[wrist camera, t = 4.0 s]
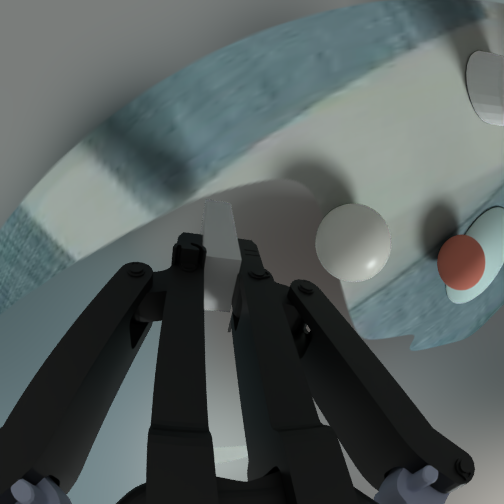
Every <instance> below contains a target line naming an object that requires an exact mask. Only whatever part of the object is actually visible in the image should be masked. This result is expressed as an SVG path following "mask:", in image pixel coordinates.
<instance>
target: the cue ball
mask: <svg viewBox="0 0 504 504" xmlns="http://www.w3.org/2000/svg"><path fill="white" fill-rule="evenodd" d="M391 243H392V242H391V234H390V231H389V228H388V225H387V224H386V222H385V220H384V219H383V218H382V216H381V215H380V214H379V213H377V212H376V211H375V210H373V209H372V208H370V207H368V206H365V205H362V204H354V203H352V204H345V205H341V206H339V207H337V208H335V209H333V210H332V211H330V212H329V213H328V214H327V215H326V216H325V217H324V218H323V220H322V222H321V223H320V225H319V227H318V230H317V234H316V251H317V255H318V258H319V260H320V262H321V264H322V265H323V267H324V268H325V269H326V270H327V271H328V272H329V273H330V274H331V275H333V276H335V277H336V278H338V279H340V280H343V281H348V282H359V281H364V280H367V279H369V278H371V277H373V276H375V275H376V274H377V273H378V272H379V271H380V270H381V269H382V268H383V267H384V266H385V264H386V262H387V260H388V258H389V255H390V252H391Z"/></svg>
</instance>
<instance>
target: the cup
mask: <svg viewBox="0 0 504 504" xmlns="http://www.w3.org/2000/svg"><path fill="white" fill-rule="evenodd" d="M466 76H467V87H468V93H469V96H470V99H471V103H472V105H473V107H474V109H475V111H476V113H477V114H478V116H479V117H480V118H481V119H482V120H483V121H484V122H486V123H489V124H494V125H501V126H504V56H501V55H497V54H494V53H489V52H484V51H476V52H474V53H473V54H472V55H471V56H470V58H469V61H468V63H467V71H466Z"/></svg>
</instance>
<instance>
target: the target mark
mask: <svg viewBox="0 0 504 504" xmlns="http://www.w3.org/2000/svg"><path fill="white" fill-rule="evenodd" d="M465 235H467V236H470V237H472V238H474V239H475V240H476V241H477V242H478V243H479V244H480V245H481V247H482V249H483V251H484V254H485V270H484V273H483V276H482V277H481V279H480V280H479V282H478V283H477V284H476V285H475V286H473V287H472V288H470V289H467V290H455V289H452V288H451V287H449V286H448V285H446V292H447V296H448V297H449V299H450V300H451V301H452V302H454V303H458V304H460V303H465V302H468V301H470V300H472V299H474V298H475V297H477V296H478V295H479V294H480V293H482V292H483V291H484V290H485V289H486V288H487V287H488V286H489V284H490V283H491V282H492V281H493V279H494V278H495V277H496V275H497V274H498V272H499V270H500V269H501V267H502V265H503V263H504V209H503V208H500V207H495V208H491V209H490V210H488V211H486V212H485V213H483V214H482V215H481V216H480V217H479V218H478V219H477V220H476V221H475V222H474V223H473V224H472V226H471V227H470V228H469V230H468V231H467V232H466V234H465Z"/></svg>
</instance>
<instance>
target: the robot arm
mask: <svg viewBox="0 0 504 504" xmlns="http://www.w3.org/2000/svg"><path fill="white" fill-rule="evenodd" d="M231 305H232V308H233V312H232V316H231V320H230V324H229V328H228V332H230V331H231V328H232V335H233V336H232V337H233V345H234V354H235V361H236V370H237V378H238V386H239V394H240V401H241V409H242V416H243V423H244V430H245V437H246V444H247V451H248V458H249V463H248V470H247V471H248V472H247V476H248V482H242V481H236V480H230V479H225V478H220V477H216V474H215V463H214V452H213V442H212V436H211V433H210V431H209V427H208V413H207V394H206V373H205V339H204V338H205V336H204V310H214V311H224V312H230V309H231ZM161 320H162V325H161V332H160V339H159V347H158V355H157V364H156V372H155V382H154V392H153V405H152V417H151V426H150V428H149V432H148V443H147V472H146V483H144V484H142V485H139V486H137V487H135V488H134V489H132V490H131V491H129V492H128V493H127V494H126V495H125V496H124V497H122V499H120V500H119V501H118V502H117V503H116V504H444V503H445V501H446V499H447V497H448V495H449V493H451V492H452V491H454V490H456V489H458V488H460V487H462V486H463V485H465V484H467V483H468V482H469V481H470V480H471V479H472V477H473V475H474V470H475V467H474V462H473V460H472V457H471V456H470V455H469V454H468V453H467V452H465V451H464V450H462V449H461V448H459V447H458V446H457V445H455V444H454V443H453V442H451V441H450V440H448V439H447V438H446V437H444V436H443V435H442V434H440V433H439V432H437V431H436V430H435V429H433V428H432V426H431V425H430V424H429V423H428V421H427V420H426V419H425V417H424V416H423V415H422V414H421V412H420V411H419V410H418V408H417V407H416V406H415V404H414V403H413V402H412V401H411V400H410V398H409V397H408V396H407V394H406V393H405V392H404V390H403V389H402V388H401V387H400V386H399V384H398V383H397V382H396V380H395V379H394V378H393V377H392V376H391V374H390V373H389V372H388V370H387V369H386V368H385V367H384V366H383V364H382V363H381V362H380V361H379V359H378V358H377V357H376V356H375V354H374V353H373V352H372V351H371V350H370V349H369V347H368V346H367V345H366V343H365V342H364V341H363V340H362V339H361V337H360V336H359V335H358V334H357V333H356V331H355V330H354V329H353V328H352V327H351V325H350V324H349V323H348V322H347V321H346V319H345V318H344V317H343V316H342V315H341V314H340V312H339V311H338V310H337V309H336V308H335V306H334V305H333V304H332V303H331V302H330V301H329V299H328V298H327V297H326V296H325V295H324V293H323V292H322V291H321V290H320V289H319V288H318V287H317V286H316V285H315V284H313V283H311V282H310V281H306V280H299V279H298V280H294V281H293V282H292V283H291V285H290V287H288V286H286V285H282V284H279V283H276V282H275V281H274V279H273V277H272V275H271V273H270V272H269V271H267V270H266V269H264V267H263V264H262V261H261V258H260V255H259V252H258V248H257V245H256V244H254V243H253V242H252V241H251V240H244V239H237V234H236V229H235V224H234V218H233V213H232V208H231V203H229V202H222V201H215V200H208V199H206V202H205V207H204V213H203V220H202V226H201V233H200V234H193V233H184V232H183V233H182V234H181V235H180V236H179V237H178V241H177V243H176V244H175V245H174V246H173V253H172V265H171V267H170V268H168V269H167V270H164V271H158V272H153V270H152V268H151V267H150V266H149V265H147V264H145V263H140V262H131V263H128V264H125V265H124V266H122V267H121V268H120V269H119V270H118V272H117V273H116V274H115V275H114V276H113V277H112V278H111V279H110V280H109V282H108V283H107V284H106V285H105V286H104V287H103V288H102V290H101V291H100V292H99V293H98V294H97V296H96V297H95V298H94V299H93V300H92V301H91V303H90V304H89V305H88V306H87V308H86V309H85V310H84V311H83V312H82V314H81V315H80V316H79V317H78V319H77V320H76V321H75V322H74V324H73V325H72V326H71V327H70V329H69V330H68V331H67V333H66V334H65V335H64V336H63V338H62V339H61V340H60V342H59V343H58V344H57V346H56V347H55V348H54V350H53V351H52V352H51V354H50V355H49V356H48V358H47V359H46V361H45V362H44V363H43V365H42V366H41V368H40V369H39V371H38V372H37V373H36V375H35V376H34V378H33V379H32V381H31V382H30V384H29V385H28V387H27V388H26V390H25V391H24V393H23V395H22V396H21V398H20V399H19V401H18V402H17V404H16V405H15V407H14V409H13V410H12V412H11V414H10V415H9V417H8V419H7V420H6V422H5V424H4V425H3V427H1V428H0V504H72V503H71V501H70V499H69V498H68V496H67V495H66V494H67V493H68V492H69V491H70V489H71V488H72V486H73V485H74V483H75V482H76V480H77V478H78V476H79V475H80V473H81V471H82V468H83V466H84V464H85V461H86V459H87V457H88V454H89V452H90V450H91V448H92V445H93V443H94V441H95V438H96V436H97V434H98V432H99V430H100V428H101V425H102V423H103V421H104V419H105V417H106V415H107V413H108V410H109V408H110V406H111V404H112V402H113V400H114V398H115V396H116V394H117V392H118V390H119V388H120V386H121V384H122V382H123V380H124V378H125V376H126V374H127V372H128V370H129V368H130V366H131V364H132V362H133V360H134V358H135V356H136V354H137V352H138V351H139V349H140V347H141V345H142V343H143V341H144V339H145V337H146V336H147V334H148V332H149V330H150V328H151V326H152V322H153V321H161ZM307 325H308V327H309V328H310V330H311V331H310V332H308V331H307V329H306V326H307ZM312 397H313V398H312ZM313 399H314V401H315V402H316V404H317V405H318V407H319V409H320V410H321V412H322V413H323V415H324V416H325V418H326V420H327V421H328V423H329V425H330V426H331V427H330V426H327V425H323V424H322V423H321V422H320V420H319V417H318V414H317V411H316V408H315V405H314V402H313ZM338 439H339V441H340V442H341V444H342V446H343V447H344V449H345V450H346V452H347V453H348V455H349V457H350V458H351V460H352V461H353V463H354V464H355V466H356V467H357V469H358V470H359V471H360V473H361V474H362V476H363V477H364V478H365V479H366V480H367V481H368V482H369V483H370V484H371V485H372V486H373V487H374V488H375V489H377V490H378V491H379V492H378V493H377V494H376V495H375V497H374V500H373V499H371V498H370V497H368V496H367V495H365V494H363V493H362V492H361V491H359V490H358V489H356V488H355V487H353V484H352V481H351V477H350V475H349V471H348V468H347V465H346V462H345V459H344V456H343V453H342V450H341V447H340V444H339V441H338Z"/></svg>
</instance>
